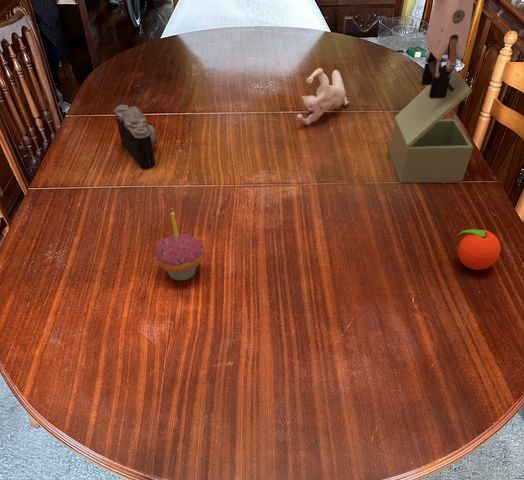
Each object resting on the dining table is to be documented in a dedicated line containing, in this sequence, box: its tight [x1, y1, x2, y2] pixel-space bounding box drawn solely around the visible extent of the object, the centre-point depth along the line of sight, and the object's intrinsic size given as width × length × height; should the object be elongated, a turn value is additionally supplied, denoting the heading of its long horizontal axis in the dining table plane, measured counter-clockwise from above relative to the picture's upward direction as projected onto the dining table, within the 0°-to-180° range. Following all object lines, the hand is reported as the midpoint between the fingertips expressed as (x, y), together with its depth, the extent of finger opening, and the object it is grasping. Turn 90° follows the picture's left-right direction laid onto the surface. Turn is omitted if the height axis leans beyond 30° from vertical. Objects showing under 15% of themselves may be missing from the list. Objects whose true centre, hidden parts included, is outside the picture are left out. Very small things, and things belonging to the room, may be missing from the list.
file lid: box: [394, 60, 473, 147], centre depth 102 cm, size 14×13×6 cm
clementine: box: [457, 228, 501, 271], centre depth 89 cm, size 8×7×7 cm
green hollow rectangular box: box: [388, 118, 474, 184], centre depth 111 cm, size 14×13×8 cm
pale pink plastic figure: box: [296, 67, 350, 126], centre depth 127 cm, size 13×13×18 cm
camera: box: [114, 104, 158, 171], centre depth 115 cm, size 15×7×10 cm, turn 31°
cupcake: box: [154, 207, 205, 281], centre depth 86 cm, size 9×8×12 cm
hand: (433, 90), depth 101 cm, fingers closed on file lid, 5 cm apart
